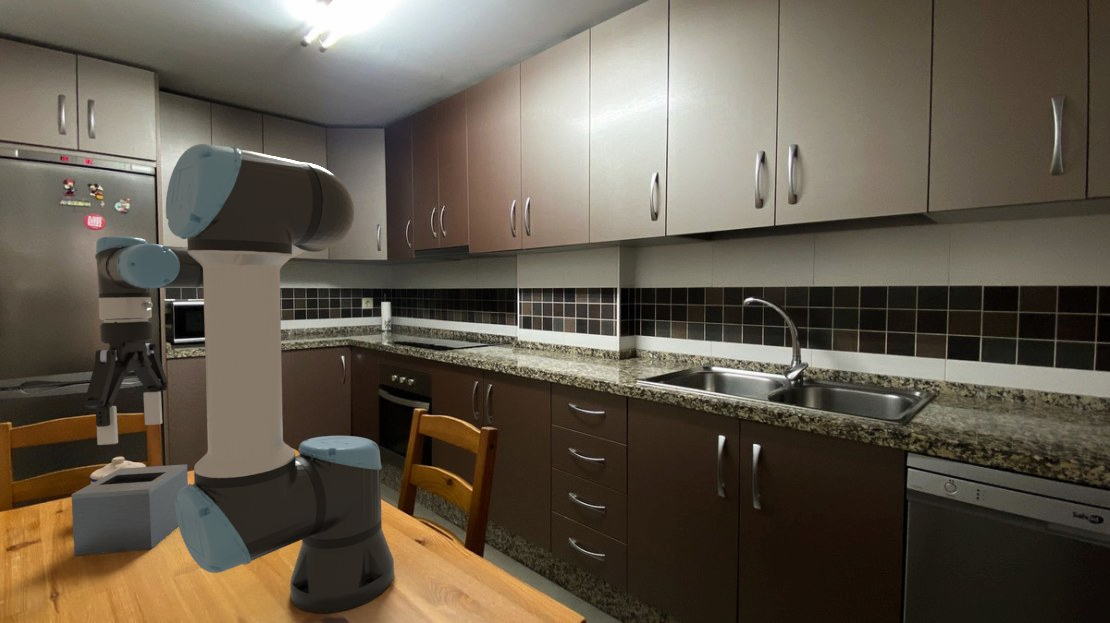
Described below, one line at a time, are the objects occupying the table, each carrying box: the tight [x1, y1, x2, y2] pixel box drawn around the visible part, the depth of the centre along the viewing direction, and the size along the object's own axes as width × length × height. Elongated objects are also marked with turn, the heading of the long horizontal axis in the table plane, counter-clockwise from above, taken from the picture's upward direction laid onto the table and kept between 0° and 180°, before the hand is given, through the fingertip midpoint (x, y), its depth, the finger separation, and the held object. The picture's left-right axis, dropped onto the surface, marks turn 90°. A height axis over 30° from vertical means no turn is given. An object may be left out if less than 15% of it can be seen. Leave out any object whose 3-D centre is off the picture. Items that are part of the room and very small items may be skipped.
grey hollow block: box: [71, 464, 189, 557], centre depth 96 cm, size 13×12×11 cm
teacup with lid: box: [89, 456, 147, 484], centre depth 107 cm, size 12×9×12 cm
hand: (132, 433), depth 96 cm, fingers open, 13 cm apart
